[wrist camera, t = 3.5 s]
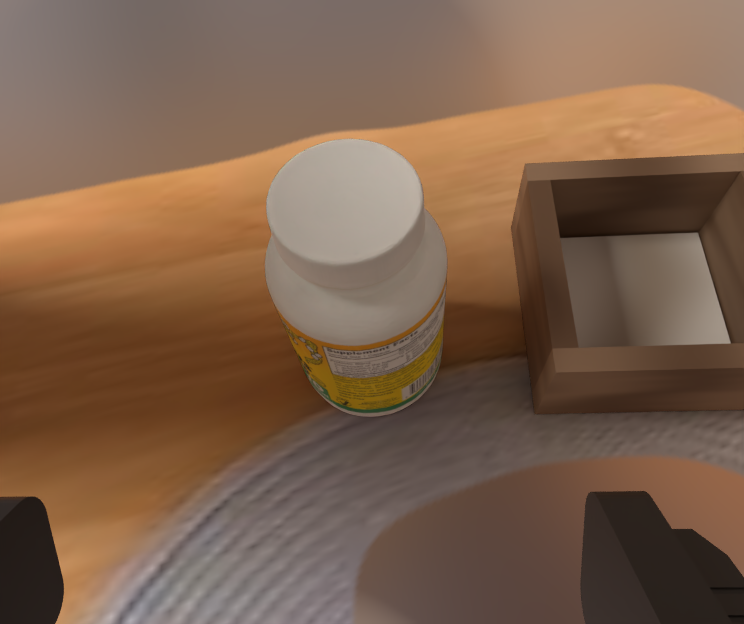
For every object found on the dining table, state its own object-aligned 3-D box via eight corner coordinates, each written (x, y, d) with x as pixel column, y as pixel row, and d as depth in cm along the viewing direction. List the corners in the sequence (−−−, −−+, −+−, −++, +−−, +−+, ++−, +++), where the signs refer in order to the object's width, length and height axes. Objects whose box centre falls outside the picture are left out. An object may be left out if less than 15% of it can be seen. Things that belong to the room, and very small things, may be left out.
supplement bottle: (450, 412, 22) (467, 279, 14) (305, 427, 23) (235, 304, 14) (431, 285, 25) (437, 107, 16) (301, 300, 25) (239, 130, 17)
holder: (534, 414, 22) (555, 372, 19) (511, 227, 26) (525, 163, 22) (770, 408, 22) (838, 365, 18) (711, 219, 25) (757, 152, 22)
